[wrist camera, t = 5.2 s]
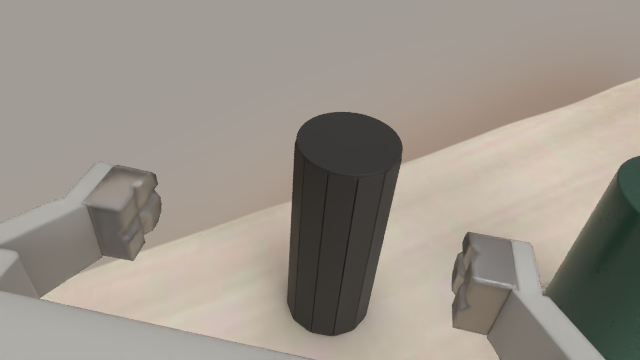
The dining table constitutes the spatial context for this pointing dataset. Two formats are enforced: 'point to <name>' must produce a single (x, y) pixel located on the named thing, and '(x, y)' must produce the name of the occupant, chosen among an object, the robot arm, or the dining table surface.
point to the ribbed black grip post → (339, 217)
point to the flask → (606, 271)
